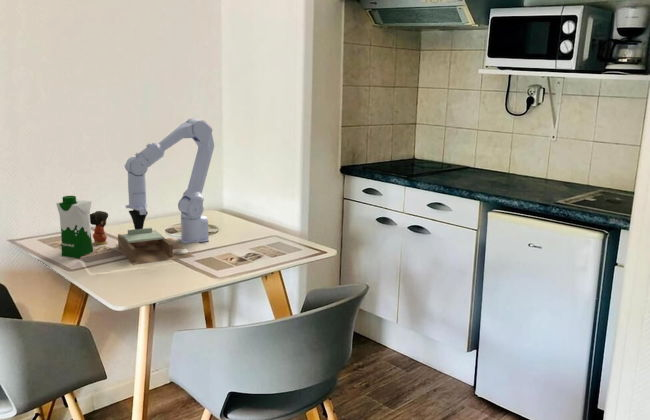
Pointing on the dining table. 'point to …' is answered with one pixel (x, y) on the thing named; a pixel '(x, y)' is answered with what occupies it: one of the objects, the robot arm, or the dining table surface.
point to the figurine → (99, 227)
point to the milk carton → (75, 227)
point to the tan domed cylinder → (140, 244)
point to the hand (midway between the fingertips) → (138, 230)
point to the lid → (142, 235)
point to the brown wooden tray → (152, 251)
